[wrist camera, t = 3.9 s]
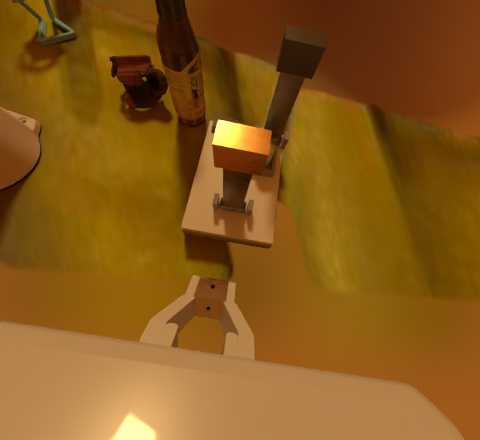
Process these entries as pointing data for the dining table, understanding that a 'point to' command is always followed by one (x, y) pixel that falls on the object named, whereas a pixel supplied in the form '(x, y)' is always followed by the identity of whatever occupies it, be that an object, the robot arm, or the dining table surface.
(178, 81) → the sauce bottle
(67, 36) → the chair
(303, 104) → the dining table surface
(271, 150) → the push button
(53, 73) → the dining table surface
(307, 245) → the dining table surface
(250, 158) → the lever orange
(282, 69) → the lever black
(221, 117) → the block
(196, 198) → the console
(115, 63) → the pottery mug
